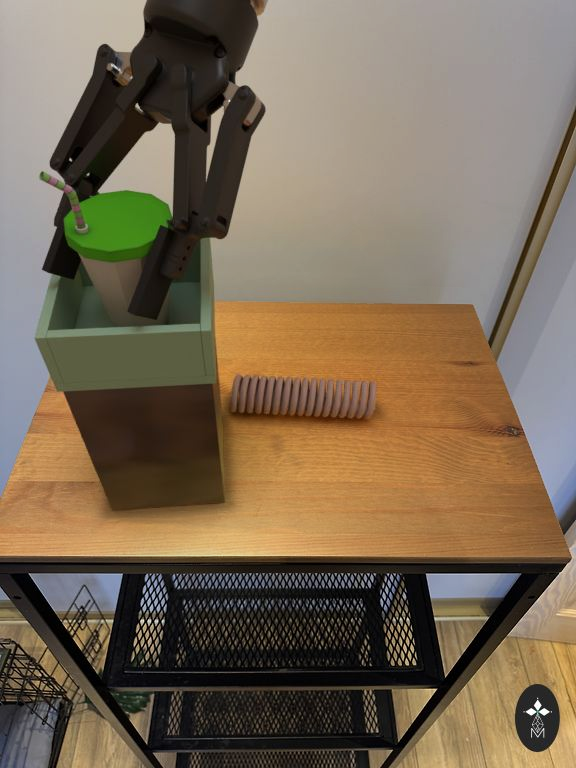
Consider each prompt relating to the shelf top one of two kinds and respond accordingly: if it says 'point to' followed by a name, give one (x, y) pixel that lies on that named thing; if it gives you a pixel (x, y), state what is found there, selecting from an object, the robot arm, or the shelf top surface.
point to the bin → (129, 334)
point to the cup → (115, 245)
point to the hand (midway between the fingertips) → (99, 294)
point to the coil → (303, 396)
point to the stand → (154, 443)
